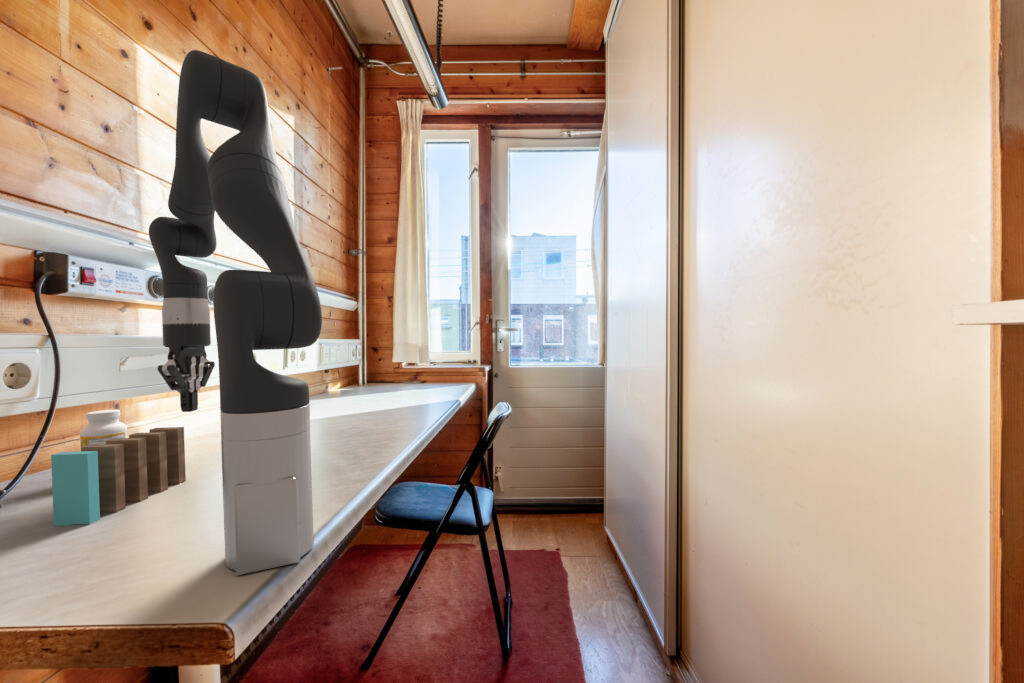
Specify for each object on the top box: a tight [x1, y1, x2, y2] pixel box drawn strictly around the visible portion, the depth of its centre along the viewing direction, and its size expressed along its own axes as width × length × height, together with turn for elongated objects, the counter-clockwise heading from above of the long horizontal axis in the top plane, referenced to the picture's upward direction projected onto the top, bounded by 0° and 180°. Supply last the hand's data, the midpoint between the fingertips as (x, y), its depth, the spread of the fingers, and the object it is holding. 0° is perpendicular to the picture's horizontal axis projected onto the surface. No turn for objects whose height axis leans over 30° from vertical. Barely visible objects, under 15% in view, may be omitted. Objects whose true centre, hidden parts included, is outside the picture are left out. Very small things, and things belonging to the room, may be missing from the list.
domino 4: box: [128, 432, 169, 494], centre depth 77 cm, size 2×5×10 cm, turn 91°
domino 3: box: [106, 437, 149, 503], centre depth 72 cm, size 2×5×10 cm, turn 91°
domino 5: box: [148, 426, 187, 485], centre depth 81 cm, size 2×5×10 cm, turn 91°
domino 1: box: [50, 451, 101, 527], centre depth 64 cm, size 2×5×10 cm, turn 91°
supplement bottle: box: [79, 409, 128, 448], centre depth 85 cm, size 7×7×13 cm
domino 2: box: [80, 444, 126, 514], centre depth 68 cm, size 2×5×10 cm, turn 91°
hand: (189, 410), depth 87 cm, fingers closed
